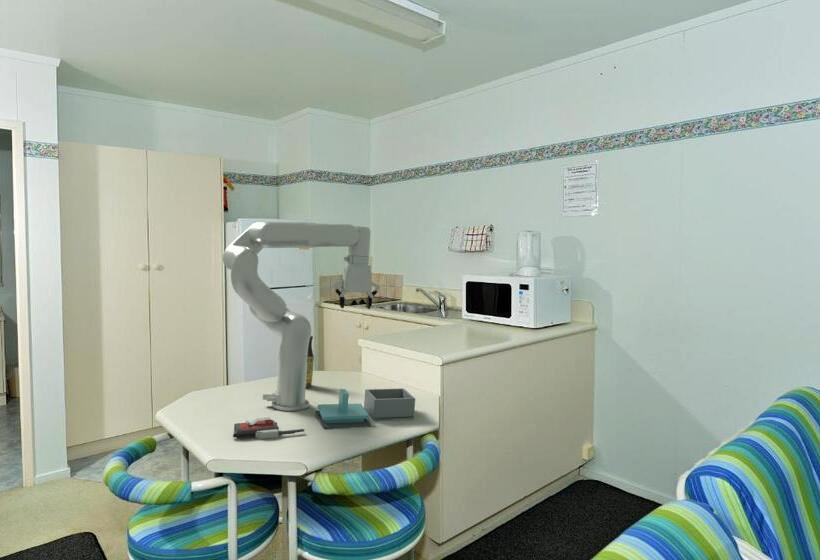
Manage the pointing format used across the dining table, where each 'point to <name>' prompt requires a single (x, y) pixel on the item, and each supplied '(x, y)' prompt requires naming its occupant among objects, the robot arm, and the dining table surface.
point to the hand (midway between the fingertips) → (355, 308)
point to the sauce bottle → (309, 363)
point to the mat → (341, 425)
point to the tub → (389, 404)
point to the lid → (343, 410)
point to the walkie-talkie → (260, 429)
